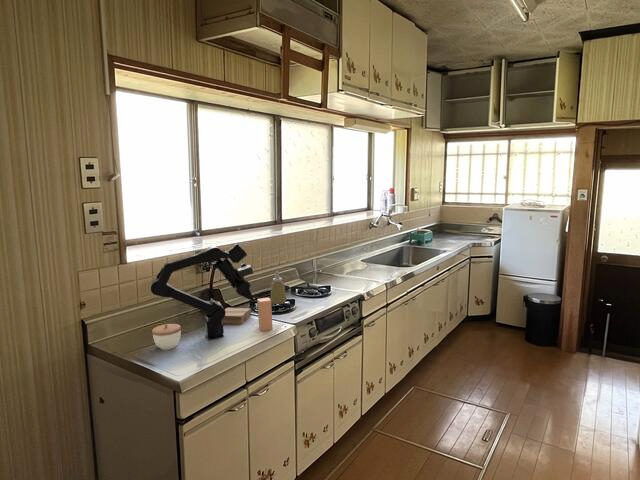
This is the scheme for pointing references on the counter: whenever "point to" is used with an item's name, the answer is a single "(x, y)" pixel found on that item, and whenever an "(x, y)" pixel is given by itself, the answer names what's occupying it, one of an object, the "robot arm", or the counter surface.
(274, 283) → the squeeze bottle
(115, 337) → the counter surface
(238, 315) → the walnut base block
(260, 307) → the tall terracotta block
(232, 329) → the counter surface
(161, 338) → the lidded jar
